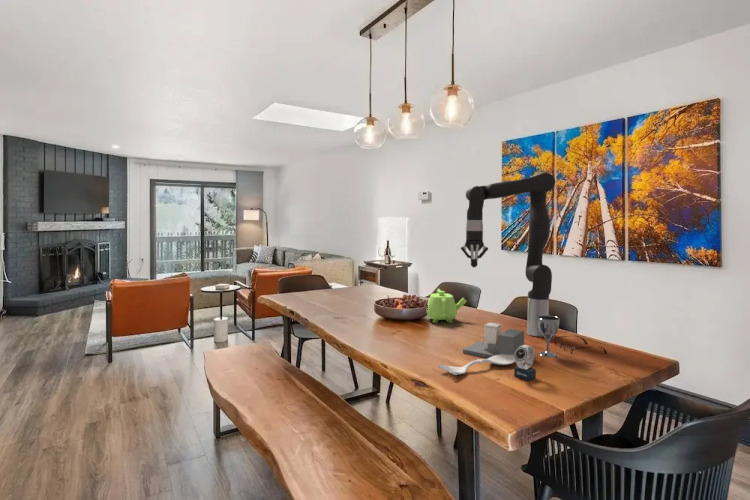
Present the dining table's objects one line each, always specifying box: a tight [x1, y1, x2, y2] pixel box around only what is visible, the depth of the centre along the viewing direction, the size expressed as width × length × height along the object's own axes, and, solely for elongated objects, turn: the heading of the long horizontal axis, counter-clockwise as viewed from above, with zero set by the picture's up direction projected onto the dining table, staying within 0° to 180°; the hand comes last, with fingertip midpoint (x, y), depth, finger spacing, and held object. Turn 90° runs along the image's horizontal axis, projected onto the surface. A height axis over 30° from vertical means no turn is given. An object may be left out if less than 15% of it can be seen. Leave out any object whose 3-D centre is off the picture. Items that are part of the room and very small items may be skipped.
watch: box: [513, 344, 537, 382], centre depth 145 cm, size 6×8×11 cm
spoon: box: [438, 354, 516, 376], centre depth 154 cm, size 9×32×4 cm, turn 117°
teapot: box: [426, 288, 468, 323], centre depth 230 cm, size 25×22×16 cm
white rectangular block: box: [483, 322, 503, 349], centre depth 172 cm, size 5×5×10 cm
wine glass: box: [537, 315, 560, 358], centre depth 169 cm, size 8×8×15 cm
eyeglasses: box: [553, 335, 608, 355], centre depth 177 cm, size 16×16×4 cm
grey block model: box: [462, 328, 525, 359], centre depth 172 cm, size 20×15×10 cm
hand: (474, 267), depth 197 cm, fingers closed
